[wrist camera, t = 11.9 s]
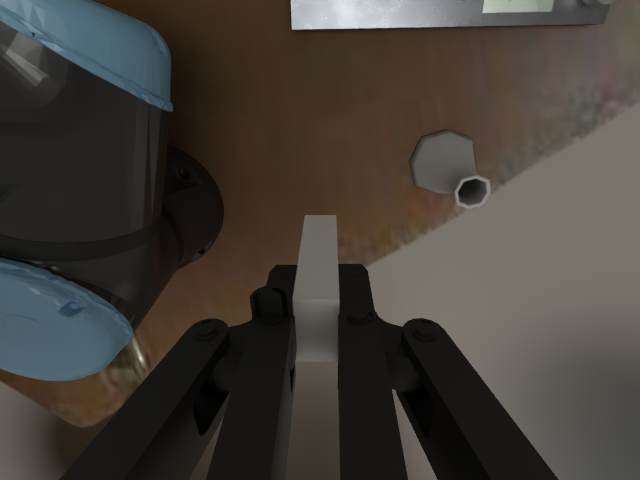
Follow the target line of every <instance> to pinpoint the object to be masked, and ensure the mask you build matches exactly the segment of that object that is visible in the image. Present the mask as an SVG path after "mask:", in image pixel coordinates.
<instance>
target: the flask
mask: <svg viewBox="0 0 640 480" xmlns="http://www.w3.org/2000/svg"><path fill="white" fill-rule="evenodd" d="M410 165H411V170H412V175H413V181H414V185H416V186H419V187H422V188H424V189H427V190H430V191H433V192H435V193H446V194H452V195H453V196H454V198H455V204H456V205H458V206H460V207H463V208H466V209H473V208H477V207H480V206H483V205H484V204H485V202H486V200H487V199H488V197H489V196H490V194H491V188H490V180H489V179H487V178H484V177H482V176H479V175H478V174H477V172H476V170H475V162H474V153H473V144H472V138H470V137H467V136H465V135H462V134H459V133H457V132H454V131H452V130H449V129H447V130H444V131H440V132H437V133H434V134H430V135H427V136H423V137H421V139H420V141H419V143H418V145H417V148H416V150H415V152H414V154H413V156H412V158H411V160H410Z"/></svg>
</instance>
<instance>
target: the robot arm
mask: <svg viewBox="0 0 640 480" xmlns="http://www.w3.org/2000/svg"><path fill="white" fill-rule="evenodd" d="M170 82H171V56H170V51H169V48H168V46H167V44H166V42H165V40H164V39H163V37H162V36H161V35H160V34H159V33H158V32H157V31H156V30H155V29H154V28H152V27H151V26H150V25H148V24H146V23H144V22H142V21H140V20H138V19H135V18H133V17H131V16H128V15H126V14H124V13H121V12H119V11H116V10H114V9H112V8H109V7H107V6H104V5H102V4H100V3H97V2H95V1H92V0H0V369H3V370H5V371H8V372H11V373H14V374H18V375H21V376H25V377H29V378H34V379H40V380H49V381H68V380H76V379H80V378H83V377H85V376H87V375H91V374H95V373H97V372H99V371H101V370H102V369H103V368H105V367H106V366H107V365H108V364H109V363H110V362H111V361H112V360H113V359H114V358H115V356H116V355H117V354H118V353H119V352H120V351H121V349H122V348H123V347H124V346H125V345H127V344H128V343H129V342H130V341H131V339H132V335H133V333H134V332H135V330H136V329H137V327H138V326H139V324H140V323H141V321H142V320H143V318H144V317H145V316H146V314H147V313H148V311H149V310H150V308H151V307H152V305H153V304H154V302H155V301H156V299H157V298H158V296H159V295H160V294H161V292H162V291H163V289H164V288H165V286H166V285H167V283H168V282H169V280H170V279H171V277H172V276H173V274H174V273H175V271H176V270H178V269H180V268H182V267H184V266H186V265H188V264H190V263H191V262H193V261H195V260H197V259H198V258H200V257H201V256H202V255H204V254H205V253H206V252H207V251H208V250H209V248H210V247H211V246H212V244H213V243H214V241H215V239H216V238H217V236H218V234H219V232H220V230H221V227H222V223H223V214H224V213H223V203H222V199H221V195H220V192H219V190H218V188H217V186H216V184H215V182H214V180H213V179H212V177H211V176H210V175H209V173H208V172H207V171H206V170H205V169H204V168H203V167H202V166H201V165H200V164H199V163H198V162H197V161H196V160H195V159H193V158H192V157H190V156H189V155H187V154H186V153H184V152H182V151H180V150H178V149H176V148H173V147H171V146H168V145H167V143H168V132H169V120H170V112H173V104H172V103H171V101H170ZM250 303H251V310H252V320H250V321H248V322H246V323H244V324H241V325H237V326H232V327H228V326H227V324H226V323H225V322H224V321H222V320H219V319H206V320H201V321H199V322H197V323H195V324H194V325H192V326H191V327H190V328H189V329H188V330H187V331H186V332H185V333H184V335H183V336H182V337H181V338H180V339H179V340H178V342H177V343H176V344H175V345H174V346H173V347H172V349H171V350H170V351H169V352H168V353H167V354H166V356H165V357H164V358H163V359H162V360H161V361H160V363H159V364H158V365H157V366H156V367H155V368H154V370H153V371H152V372H151V373H150V374H149V375H148V377H147V378H146V379H145V380H144V381H143V382H142V384H141V385H140V386H139V387H138V388H137V389H136V391H135V392H134V393H133V394H132V395H131V396H130V398H129V399H128V400H127V401H126V402H125V403H124V405H123V406H122V407H121V408H120V409H119V410H118V412H117V413H116V414H115V415H114V416H113V417H112V419H111V420H110V421H109V422H108V424H106V426H105V427H104V428H103V429H102V430H101V431H100V433H99V434H98V435H97V436H96V437H95V438H94V440H93V441H92V442H91V443H90V444H89V446H88V447H87V448H86V449H85V450H84V452H83V453H82V454H81V455H80V456H79V457H78V458H77V460H76V461H75V462H74V463H73V464H72V466H71V467H70V468H69V469H68V470H67V471H66V472H65V474H64V475H63V476H62V477H61V478H60V479H59V480H189V478H190V476H191V474H192V472H193V471H194V469H195V467H196V465H197V464H198V462H199V460H200V458H201V456H202V454H203V453H204V451H205V449H206V447H207V446H208V444H209V442H210V440H211V438H212V437H213V435H214V433H215V431H216V429H217V428H218V426H219V424H220V422H221V420H222V419H223V422H222V425H221V429H220V432H219V436H218V439H217V443H216V446H215V450H214V453H213V457H212V460H211V464H210V468H209V471H208V474H207V478H206V480H285V475H286V466H287V456H288V446H289V436H290V426H291V416H292V406H293V396H294V387H295V377H296V369H295V360H296V361H316V362H317V361H318V362H319V361H321V362H323V361H324V362H338V401H339V444H340V445H339V447H340V480H408V477H407V471H406V466H405V460H404V455H403V449H402V444H401V439H400V432H399V427H398V421H397V416H396V410H395V405H394V399H393V394H392V389H394V390H396V393H397V396H398V398H399V400H400V402H401V404H402V406H403V408H404V410H405V413H406V415H407V416H408V419H409V421H410V423H411V425H412V427H413V429H414V431H415V433H416V435H417V438H418V439H419V442H420V443H421V446H422V448H423V450H424V452H425V454H426V456H427V458H428V460H429V462H430V465H431V467H432V469H433V471H434V473H435V475H436V477H437V479H438V480H558V478H557V477H556V476H555V475H554V473H553V472H552V471H551V469H550V468H549V467H548V465H547V464H546V463H545V461H544V460H543V459H542V457H541V456H540V455H539V454H538V452H537V451H536V450H535V448H534V447H533V446H532V444H531V443H530V442H529V440H528V439H527V438H526V436H525V435H524V434H523V432H522V431H521V430H520V428H519V427H518V426H517V425H516V423H515V422H514V421H513V419H512V418H511V417H510V415H509V414H508V413H507V412H506V410H505V409H504V408H503V406H502V405H501V404H500V403H499V401H498V400H497V399H496V397H495V396H494V394H493V393H492V392H491V390H490V389H489V388H488V387H487V385H486V384H485V383H484V381H483V380H482V379H481V377H480V376H479V375H478V373H477V372H476V371H475V370H474V368H473V367H472V366H471V364H470V363H469V362H468V360H467V359H466V358H465V356H464V355H463V354H462V353H461V351H460V350H459V348H458V347H457V346H456V345H455V343H454V342H453V341H452V339H451V338H450V337H449V335H448V334H447V333H446V331H445V330H444V329H443V328H442V327H441V326H440V325H439V324H437V323H435V322H433V321H431V320H427V319H423V318H420V319H412V320H409V321H407V322H406V323H405V324H404V326H403V327H401V326H397V325H393V324H390V323H387V322H385V321H383V320H382V319H381V318H380V317H378V315H377V313H376V312H375V310H374V305H373V299H372V293H371V287H370V281H369V276H368V271H367V269H366V268H365V267H364V266H363V265H362V264H338V248H337V222H336V215H305V219H304V226H303V232H302V239H301V246H300V252H299V259H298V265H276V266H275V267H274V268H273V269H272V270H271V271H270V273H269V277H268V281H267V284H266V286H264V287H261V288H258V289H257V290H255V291H254V292H253V293H252V294H251V296H250ZM223 417H224V418H223Z"/></svg>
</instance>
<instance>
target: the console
mask: <svg viewBox="0 0 640 480" xmlns="http://www.w3.org/2000/svg"><path fill="white" fill-rule="evenodd" d="M619 1H620V0H291V17H292V30H294V31H302V30H356V29H410V28H464V27H518V26H572V25H597V24H604V23H605V19H606V16H607V13H608V10H609V6H610V4H613V3H617V2H619Z"/></svg>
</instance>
